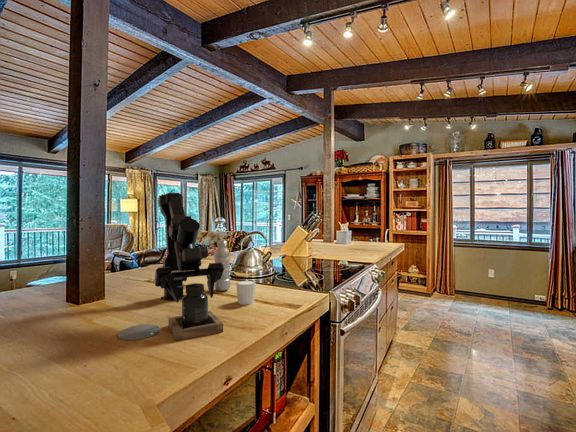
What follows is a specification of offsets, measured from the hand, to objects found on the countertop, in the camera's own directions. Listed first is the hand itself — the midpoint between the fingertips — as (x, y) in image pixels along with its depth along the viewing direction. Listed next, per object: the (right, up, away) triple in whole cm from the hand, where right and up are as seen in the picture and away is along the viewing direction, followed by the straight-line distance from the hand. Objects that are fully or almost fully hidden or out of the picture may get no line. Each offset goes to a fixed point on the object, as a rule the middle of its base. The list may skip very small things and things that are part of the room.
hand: (195, 299), depth 86 cm
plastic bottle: (-1, -8, +42) cm, 42 cm away
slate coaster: (-14, -8, -2) cm, 16 cm away
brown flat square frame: (0, -8, 0) cm, 8 cm away
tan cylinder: (+10, -8, +25) cm, 29 cm away
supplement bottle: (0, -8, 0) cm, 8 cm away
